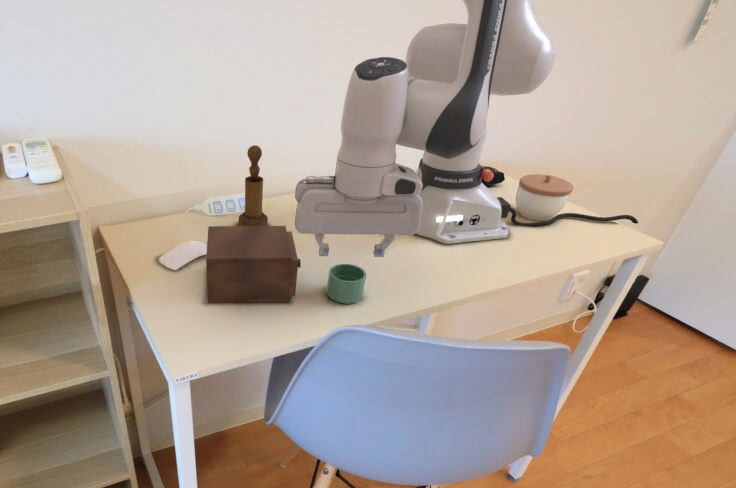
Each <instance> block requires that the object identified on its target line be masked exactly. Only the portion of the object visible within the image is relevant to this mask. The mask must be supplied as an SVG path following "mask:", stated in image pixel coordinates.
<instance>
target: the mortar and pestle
mask: <svg viewBox="0 0 736 488" xmlns="http://www.w3.org/2000/svg"><path fill="white" fill-rule="evenodd" d="M246 154H247V158H248V160H249V162H250V166H249V168H248V170H249V171H248V172H249V175H250V176H249V175H248V176H247V177H245V178H244V211H243V212H242V213H240V215H239V216H238V226H269V217H268V215H267V214H265V213H264V212H263V195H264V194H263V192H264V178H263V177H262V176H259V175H260V171H261V167H260V166H259V161H260V160H261V158H262V155H263V150H262V149H261V147H260V146H258V145H255V144H254V145H251V146H250V147H249V148H248V149H247V153H246Z"/></svg>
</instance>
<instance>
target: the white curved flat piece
mask: <svg viewBox="0 0 736 488" xmlns="http://www.w3.org/2000/svg"><path fill="white" fill-rule="evenodd" d="M206 253H207V243H205V242H203V241H200V240H190V241H186V242H184V243H181V244H179V245H177V246H175V247H173V248H172V249H170V250H169V251H167V252H166V253H164V254H163V255H160V256H159V258H158V262H159V263H160V264H161V265H163V266H164V267H166V268H168V269H169V270H172V271H177V270H179V269H181V267H183V266H185V265H186V264H187V263H190V262H191V261H193V260H195V259H196V258H199V257H202V256H206Z"/></svg>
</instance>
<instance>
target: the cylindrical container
mask: <svg viewBox="0 0 736 488" xmlns="http://www.w3.org/2000/svg"><path fill="white" fill-rule="evenodd" d="M366 278H367V273H366V271H365V269H363V268H362V267H360V266H358V265H355V264H350V263H339V264H335V265H333V266H331V267H330V268H329V270H328V277H327V284H326V294H327V296H328V298H330V299H331V300H332V301H334V302H335V303H339V304H344V305H349V304H350V305H351V304H354V303H357V302H358V301H359V300H361V299H362V298H363V295H364V289H365V284H366Z"/></svg>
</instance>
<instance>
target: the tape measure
mask: <svg viewBox="0 0 736 488" xmlns="http://www.w3.org/2000/svg"><path fill="white" fill-rule="evenodd" d="M482 166H483V167H484V168H485V169H489V170H490V171H491V172H493V174H494V175H493V176H494V177H492V178H493V179H490V180H491V181H488V182H487V181H485V180H484V179H483V178H482V183H483V184H484V185H485V186H486V187H489V186H493V185H498V184H501V183H503V182H505V179H506V177H505V173H504V172H502V171H499V170H498V169H497V168H495V167H492V166H486V165H482Z"/></svg>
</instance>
